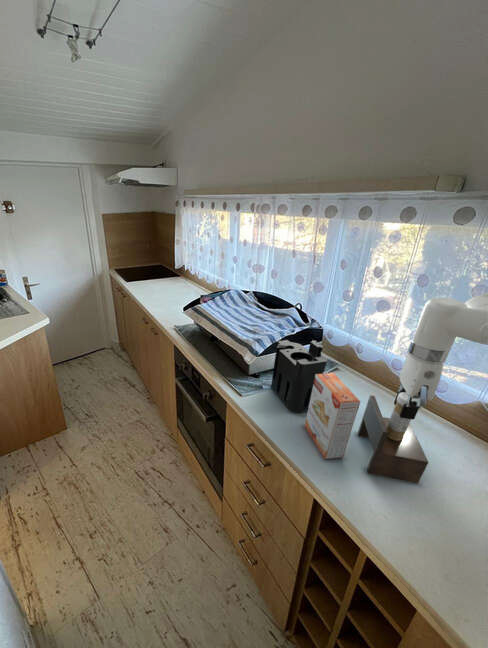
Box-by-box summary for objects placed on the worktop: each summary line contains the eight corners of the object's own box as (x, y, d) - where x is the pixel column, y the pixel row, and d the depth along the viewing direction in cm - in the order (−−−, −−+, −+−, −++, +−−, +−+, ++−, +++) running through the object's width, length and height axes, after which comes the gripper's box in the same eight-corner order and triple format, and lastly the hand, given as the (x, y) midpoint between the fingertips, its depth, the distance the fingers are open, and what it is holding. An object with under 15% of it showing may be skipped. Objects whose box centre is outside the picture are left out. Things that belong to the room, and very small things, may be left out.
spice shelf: (400, 441, 94) (417, 402, 87) (417, 483, 80) (439, 441, 73) (357, 433, 97) (370, 395, 90) (367, 473, 84) (383, 431, 76)
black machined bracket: (292, 415, 105) (302, 360, 94) (265, 382, 123) (271, 333, 112) (322, 410, 107) (336, 355, 97) (292, 378, 125) (300, 329, 114)
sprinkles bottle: (395, 429, 87) (411, 390, 81) (407, 441, 83) (424, 401, 77) (380, 430, 87) (394, 391, 80) (390, 442, 83) (406, 402, 76)
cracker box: (302, 426, 100) (314, 372, 90) (320, 425, 100) (334, 371, 90) (323, 460, 88) (339, 401, 78) (343, 458, 88) (362, 400, 78)
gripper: (463, 371, 64) (431, 436, 73) (432, 337, 78) (409, 395, 87) (422, 366, 66) (396, 430, 75) (399, 334, 80) (379, 391, 89)
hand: (403, 410), depth 81 cm, fingers closed on sprinkles bottle, 4 cm apart
